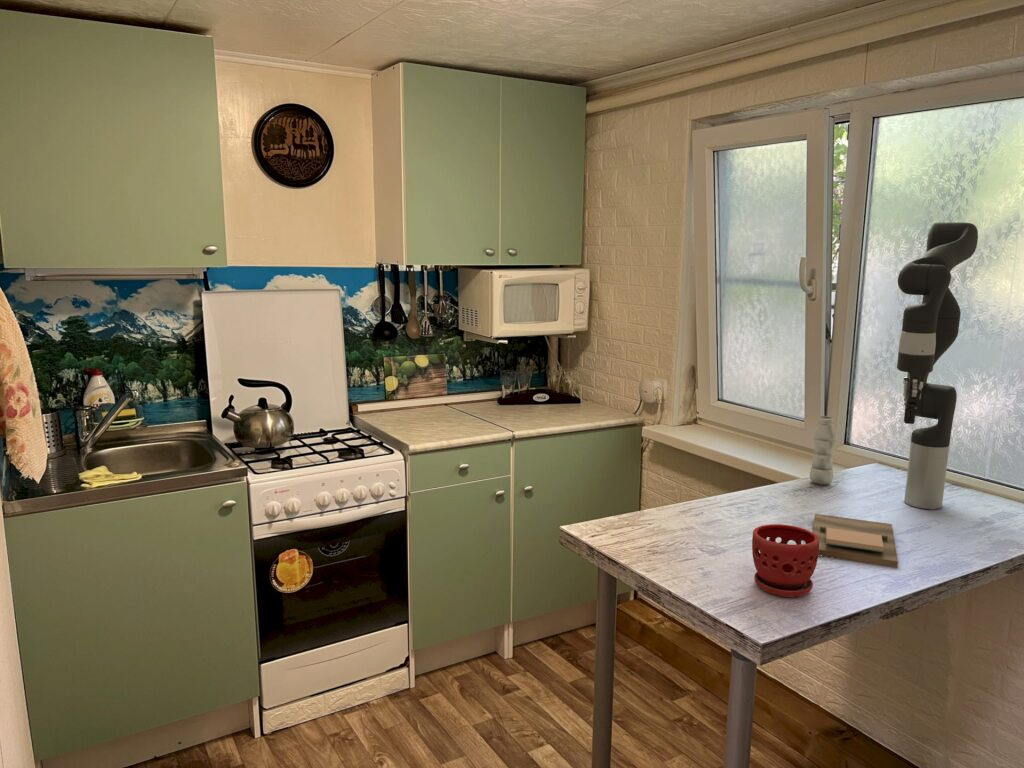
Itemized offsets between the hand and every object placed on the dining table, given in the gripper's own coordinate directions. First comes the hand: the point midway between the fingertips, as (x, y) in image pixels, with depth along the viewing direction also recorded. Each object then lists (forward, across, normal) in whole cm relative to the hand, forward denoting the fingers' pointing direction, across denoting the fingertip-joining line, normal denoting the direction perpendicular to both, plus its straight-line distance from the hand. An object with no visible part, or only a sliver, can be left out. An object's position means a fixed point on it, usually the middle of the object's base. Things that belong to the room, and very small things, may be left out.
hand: (908, 422), depth 185 cm
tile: (+25, -14, +10) cm, 30 cm away
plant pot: (+28, -40, +24) cm, 55 cm away
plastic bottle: (+29, +35, +18) cm, 49 cm away
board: (+28, -8, +10) cm, 31 cm away
